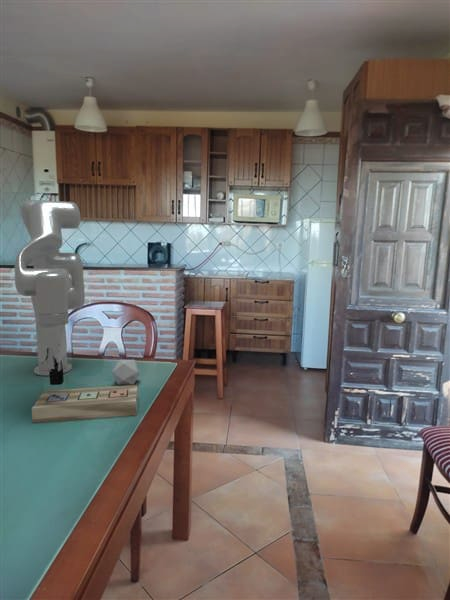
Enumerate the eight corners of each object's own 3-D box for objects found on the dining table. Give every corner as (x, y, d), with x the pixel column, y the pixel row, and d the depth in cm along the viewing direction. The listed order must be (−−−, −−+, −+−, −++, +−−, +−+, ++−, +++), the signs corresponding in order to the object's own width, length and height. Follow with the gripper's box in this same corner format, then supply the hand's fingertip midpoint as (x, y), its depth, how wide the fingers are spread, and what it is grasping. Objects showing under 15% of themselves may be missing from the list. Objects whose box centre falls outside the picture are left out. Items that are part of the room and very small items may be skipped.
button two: (111, 401, 110) (111, 390, 109) (127, 399, 110) (127, 389, 110) (109, 407, 105) (109, 396, 105) (126, 406, 106) (126, 395, 106)
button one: (82, 402, 108) (81, 392, 108) (98, 401, 109) (97, 391, 108) (79, 409, 104) (78, 398, 103) (96, 408, 105) (95, 397, 104)
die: (125, 392, 121) (143, 366, 123) (103, 377, 122) (120, 351, 124) (131, 391, 129) (147, 367, 131) (110, 378, 130) (126, 353, 132)
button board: (45, 404, 110) (44, 390, 109) (137, 397, 115) (137, 385, 114) (32, 423, 98) (31, 408, 98) (136, 415, 103) (135, 401, 103)
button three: (52, 405, 107) (51, 394, 106) (68, 403, 107) (68, 393, 107) (47, 411, 102) (47, 400, 102) (65, 410, 103) (64, 399, 103)
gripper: (45, 312, 108) (49, 374, 111) (29, 325, 94) (34, 395, 97) (73, 312, 109) (76, 373, 113) (61, 324, 95) (65, 394, 98)
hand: (57, 383), depth 105 cm, fingers closed
